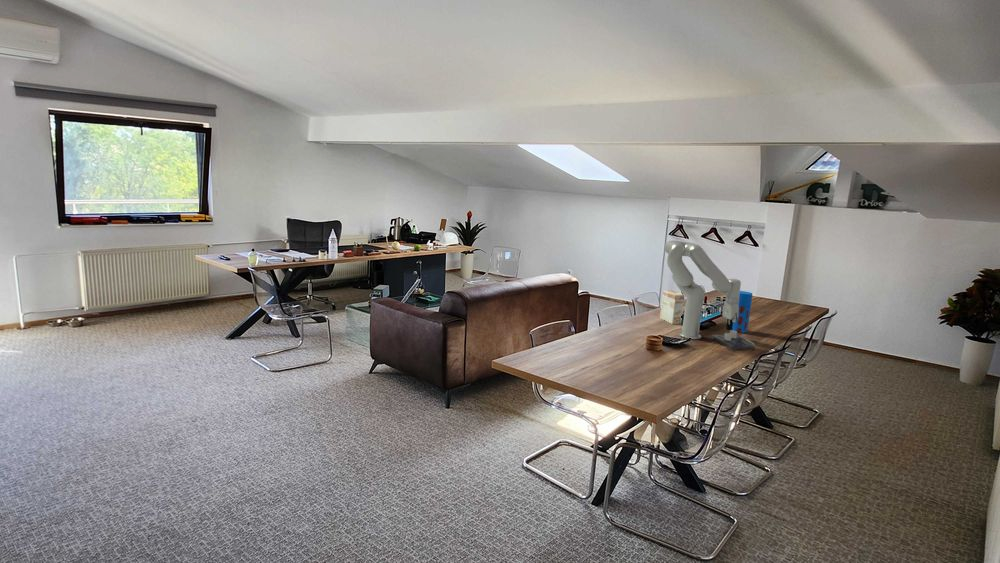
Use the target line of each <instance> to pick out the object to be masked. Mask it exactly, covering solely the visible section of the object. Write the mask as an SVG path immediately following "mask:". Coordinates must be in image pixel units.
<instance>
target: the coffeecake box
mask: <svg viewBox="0 0 1000 563" xmlns="http://www.w3.org/2000/svg"><path fill="white" fill-rule="evenodd" d="M684 300H685V295H684V294H683V293H679V292H676V291H673V290H669V289H668V290H662V295H661V305H660V306H661V307H660V313H659V319H660V320H661V321H664V320H665V321H664V322H666V321H667V323H668V322H669V324H671V325H680V324H679V323H681V324H682V319H681V316H682V317H683V310H684V302H685V301H684Z"/></svg>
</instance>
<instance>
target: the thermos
mask: <svg viewBox="0 0 1000 563" xmlns="http://www.w3.org/2000/svg"><path fill="white" fill-rule="evenodd" d="M752 302H753V292H750V291H745V290H740V295H739V303H738V305H739V312H738V319H737V320H736V322H734V323H733V328H732V330H735V331H737V334H738V333H739V334H747V332H748V328H749V321H750V316H751V315H750V314H751V309H752V308H751V307H752ZM730 331H731V330H729V332H730Z"/></svg>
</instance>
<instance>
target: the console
mask: <svg viewBox="0 0 1000 563" xmlns="http://www.w3.org/2000/svg"><path fill="white" fill-rule="evenodd" d="M710 335H711V336H710V338H711V339H712V340H713V339H714V340H713V341H715V342H717V343H719V344H721V345H722V346H724V347H726V348H727V349H729V350H731V349H754V350H755V345H756V343H755V342H752V341H751V340H749V339H747V338H745V337H743V336H741V335H739V334H737V336H736V338H731V341H726V340H725V339H724V336H725V334H710Z"/></svg>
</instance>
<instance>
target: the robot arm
mask: <svg viewBox="0 0 1000 563" xmlns="http://www.w3.org/2000/svg"><path fill="white" fill-rule="evenodd" d="M664 251H665V252H666V254H668V255H667V258H666V259H667V260H666V263H667V267H668V268H669V270H670V271H671V273H672V276H671V277H672V280H673V282H674V283H675V285H676V287H677V288H678V289H679V290H680V291H681V294H683V295H684V297H686V302H685V305H684V313H683V321H682V326H681V331H680V332H679V333H678V336H680V337H681V336H682V338H684V337H685V338H684V339H689V338H691V339H690V340H700V339H701V338H702V335H701V334H699V333H700V326H701V319H702V318H701V317H702V310H703V304H704V301H705V299H706V298H705V297H706V291H705V289H704V287H702V286H701V285H699V284H698V283H696V282H694V276H693V273H692V272H691V271H690V270H689V269H688V268H687V266H686V265H685V262H684V261H683V257H688V258H690V259H691V261H692V262H693V264H695V266H696V267H697V269H698V270H699V272H701V273H702V274H703V275H704V276H706V277H707V278H709V279H710V280H711V286H712V288H713V289H714V290H715V291H717V292H719V293H721V294H725V297H724V298H725V299H724V302H723V305H722V306H723V308H722V314H721V316H722V317H723V318H724V319H725V324H726V326H725V330H727V331H730V330H732V328H733V323H734V322H736V320H737V319H738V312H739V305H738V303H739V295H740V291H741V284H742V282H741V280H740V279H737V278H729V279H728V278H727V277H726V275H725V274H724V273H723V271H721V270H720V268H719V267H718V266H717V265H716V264H715V263H714V261H713V260H712V259H711V258H710V257H709V256H708V254H707V252H706V251H705V250H704V249H703V248H702V246H701V245H699V244H696V243H694V242H686V241H685V242H684V241H678V240H669V241H667V242H666V243H665V244H664Z"/></svg>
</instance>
